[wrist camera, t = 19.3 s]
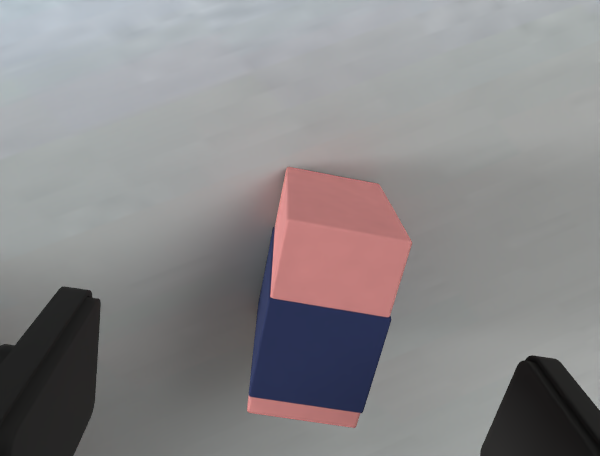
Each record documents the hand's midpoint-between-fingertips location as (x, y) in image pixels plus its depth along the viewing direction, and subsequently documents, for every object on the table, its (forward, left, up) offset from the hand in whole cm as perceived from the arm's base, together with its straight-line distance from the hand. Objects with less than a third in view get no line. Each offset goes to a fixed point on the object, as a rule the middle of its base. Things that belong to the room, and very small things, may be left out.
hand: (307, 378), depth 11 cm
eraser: (0, +1, -7) cm, 7 cm away
